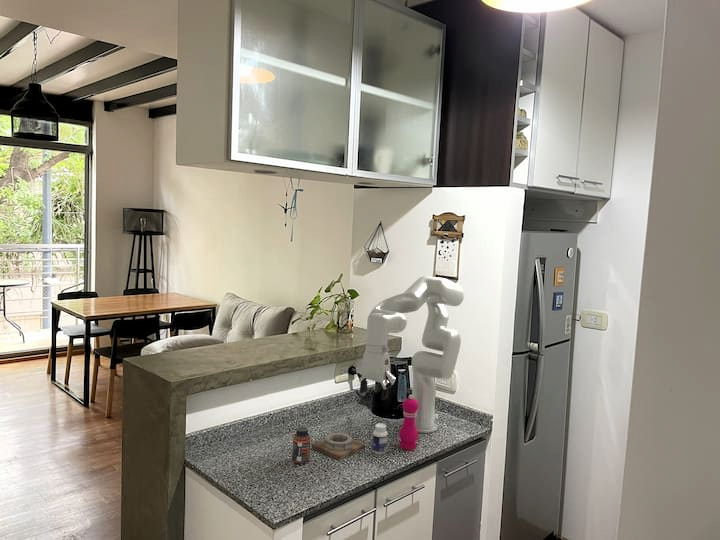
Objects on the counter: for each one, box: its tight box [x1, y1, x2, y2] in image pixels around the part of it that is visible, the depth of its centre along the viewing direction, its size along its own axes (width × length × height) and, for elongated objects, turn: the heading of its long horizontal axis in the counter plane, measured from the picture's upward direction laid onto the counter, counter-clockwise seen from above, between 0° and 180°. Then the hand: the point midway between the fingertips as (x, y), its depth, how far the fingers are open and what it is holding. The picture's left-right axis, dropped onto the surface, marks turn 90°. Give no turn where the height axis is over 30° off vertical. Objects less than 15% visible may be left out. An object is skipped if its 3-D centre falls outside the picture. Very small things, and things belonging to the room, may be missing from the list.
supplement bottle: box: [291, 426, 311, 465], centre depth 182 cm, size 6×6×11 cm
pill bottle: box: [371, 423, 389, 455], centre depth 193 cm, size 5×5×10 cm
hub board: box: [310, 432, 366, 461], centre depth 194 cm, size 14×14×4 cm
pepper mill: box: [398, 394, 419, 451], centre depth 198 cm, size 7×7×20 cm
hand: (373, 395), depth 189 cm, fingers open, 9 cm apart
